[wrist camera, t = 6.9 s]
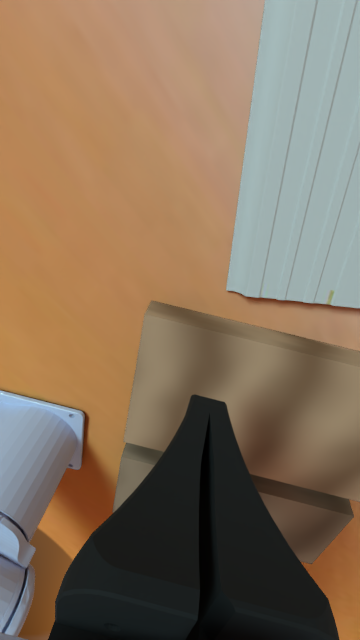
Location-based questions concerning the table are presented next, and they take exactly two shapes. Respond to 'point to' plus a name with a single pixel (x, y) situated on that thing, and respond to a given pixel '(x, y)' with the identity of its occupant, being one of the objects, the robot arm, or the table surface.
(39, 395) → the table surface
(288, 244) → the baseboard
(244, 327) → the plank
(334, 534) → the floor panel
